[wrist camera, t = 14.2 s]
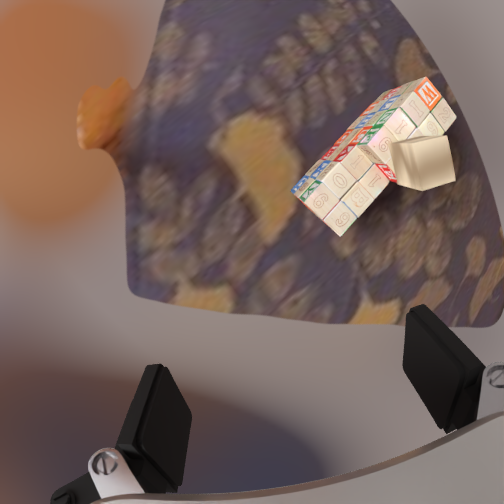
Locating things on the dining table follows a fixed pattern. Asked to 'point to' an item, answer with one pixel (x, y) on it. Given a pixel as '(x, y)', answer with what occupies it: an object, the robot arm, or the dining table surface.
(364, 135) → the stack of blocks
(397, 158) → the tan metal block
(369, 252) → the dining table surface
